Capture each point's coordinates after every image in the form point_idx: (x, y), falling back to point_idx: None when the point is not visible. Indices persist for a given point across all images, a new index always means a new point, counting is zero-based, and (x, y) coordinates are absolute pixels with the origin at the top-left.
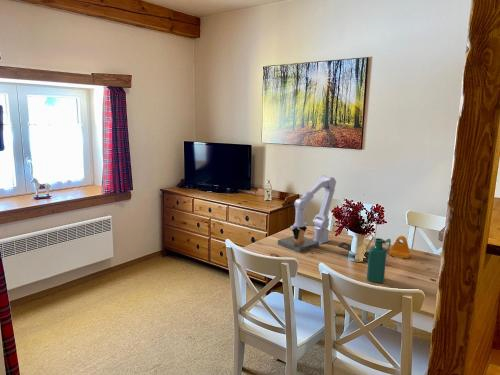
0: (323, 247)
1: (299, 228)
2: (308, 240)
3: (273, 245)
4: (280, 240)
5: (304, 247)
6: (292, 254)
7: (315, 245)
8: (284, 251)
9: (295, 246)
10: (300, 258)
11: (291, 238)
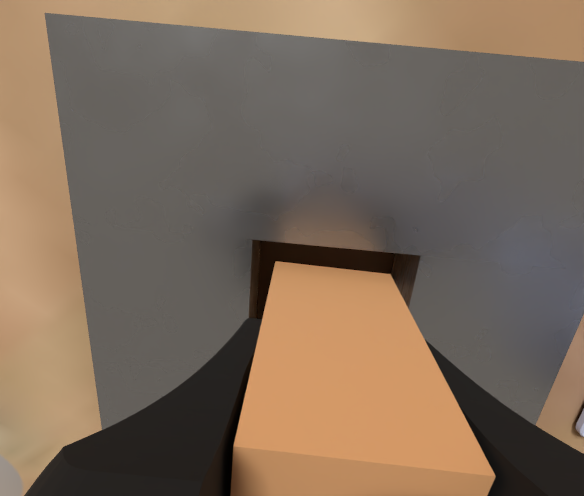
0: None
1: (506, 493)
2: None
3: (8, 16)
4: (78, 75)
5: None
6: (35, 399)
7: None
8: (9, 295)
9: (100, 413)
10: None
11: (357, 151)
